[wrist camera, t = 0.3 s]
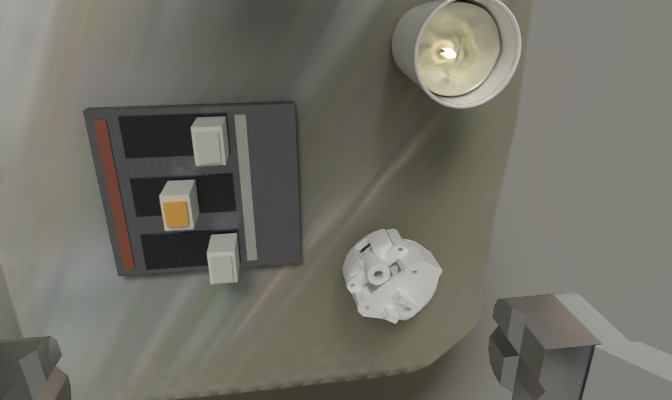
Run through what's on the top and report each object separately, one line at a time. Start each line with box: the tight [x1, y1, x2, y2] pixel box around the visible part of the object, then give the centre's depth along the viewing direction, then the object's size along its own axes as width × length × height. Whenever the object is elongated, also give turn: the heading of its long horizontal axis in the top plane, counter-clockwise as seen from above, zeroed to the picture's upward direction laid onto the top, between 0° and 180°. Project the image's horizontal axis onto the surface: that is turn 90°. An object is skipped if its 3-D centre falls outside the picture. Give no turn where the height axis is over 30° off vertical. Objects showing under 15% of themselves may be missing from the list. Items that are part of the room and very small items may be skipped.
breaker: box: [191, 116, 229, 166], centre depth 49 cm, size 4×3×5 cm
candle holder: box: [392, 0, 521, 109], centre depth 47 cm, size 10×10×12 cm
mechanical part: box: [342, 229, 443, 324], centre depth 57 cm, size 11×12×12 cm
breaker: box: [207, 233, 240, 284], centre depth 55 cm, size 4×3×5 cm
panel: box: [83, 101, 301, 276], centre depth 55 cm, size 20×22×2 cm
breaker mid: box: [159, 179, 199, 231], centre depth 52 cm, size 4×3×5 cm
